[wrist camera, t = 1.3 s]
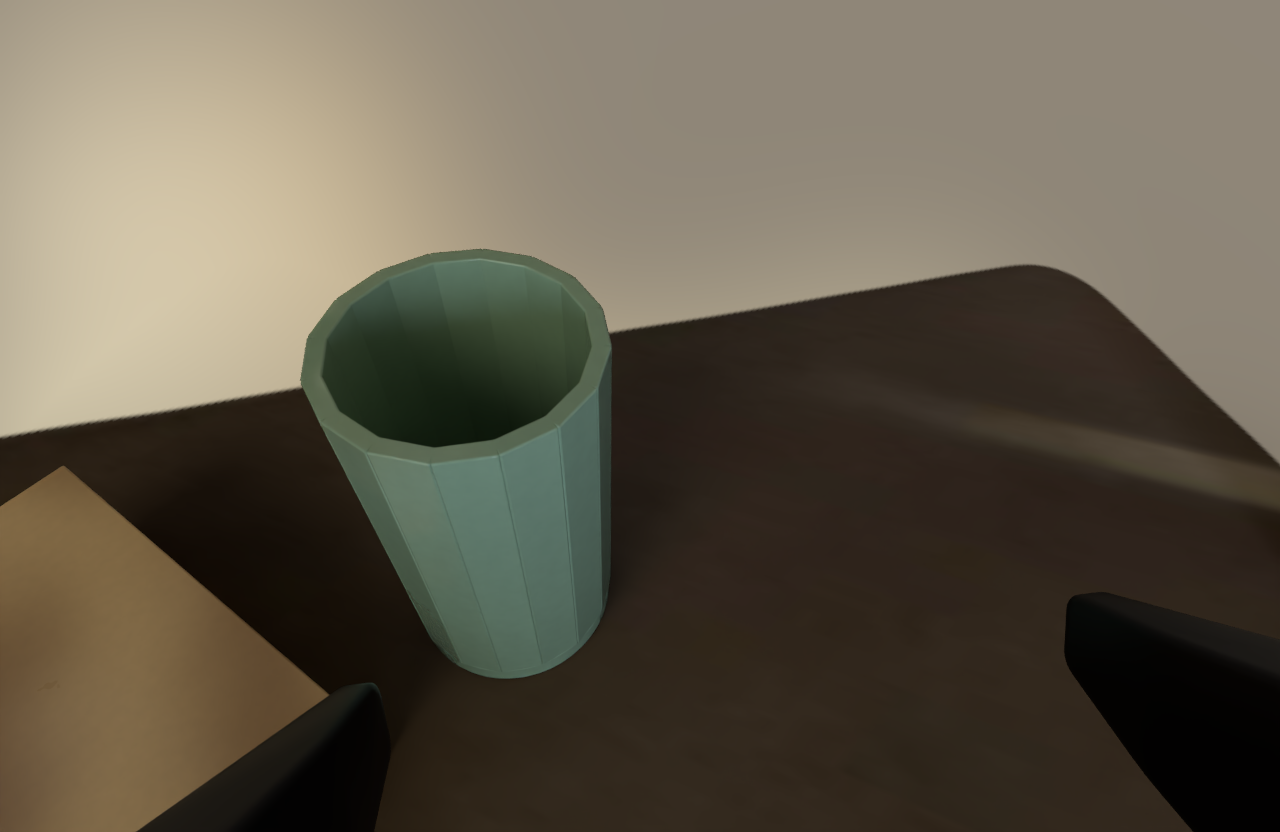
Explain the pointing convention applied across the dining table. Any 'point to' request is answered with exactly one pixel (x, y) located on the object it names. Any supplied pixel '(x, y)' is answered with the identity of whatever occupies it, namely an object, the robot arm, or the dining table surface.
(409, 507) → the cup
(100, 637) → the shelf
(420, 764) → the dining table surface
